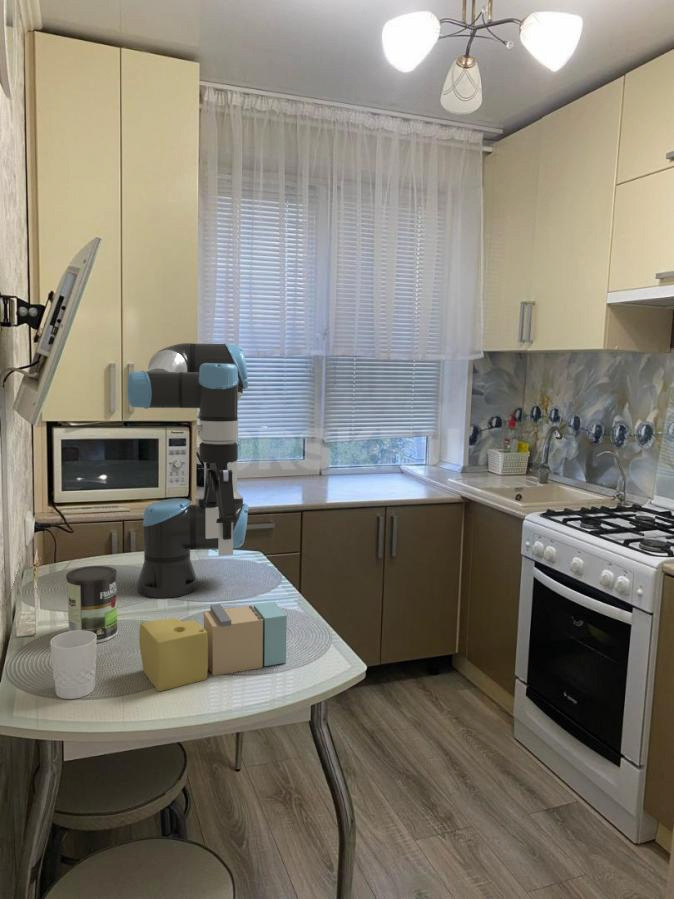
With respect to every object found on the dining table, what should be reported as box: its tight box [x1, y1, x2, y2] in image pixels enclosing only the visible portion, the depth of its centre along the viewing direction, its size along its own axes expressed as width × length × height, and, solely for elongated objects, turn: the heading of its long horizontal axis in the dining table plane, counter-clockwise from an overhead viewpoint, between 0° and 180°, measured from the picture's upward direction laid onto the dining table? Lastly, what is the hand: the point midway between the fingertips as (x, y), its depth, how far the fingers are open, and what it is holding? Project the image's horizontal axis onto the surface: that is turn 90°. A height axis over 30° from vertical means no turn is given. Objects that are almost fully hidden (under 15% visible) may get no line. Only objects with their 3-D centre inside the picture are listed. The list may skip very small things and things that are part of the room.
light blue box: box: [253, 601, 288, 667], centre depth 140 cm, size 8×4×10 cm, turn 23°
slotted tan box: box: [203, 603, 263, 677], centre depth 137 cm, size 9×10×11 cm
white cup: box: [50, 630, 98, 700], centre depth 124 cm, size 8×8×10 cm
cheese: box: [138, 617, 209, 692], centre depth 131 cm, size 10×11×10 cm
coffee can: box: [65, 565, 119, 644], centre depth 148 cm, size 10×10×14 cm
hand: (218, 546), depth 137 cm, fingers open, 13 cm apart
